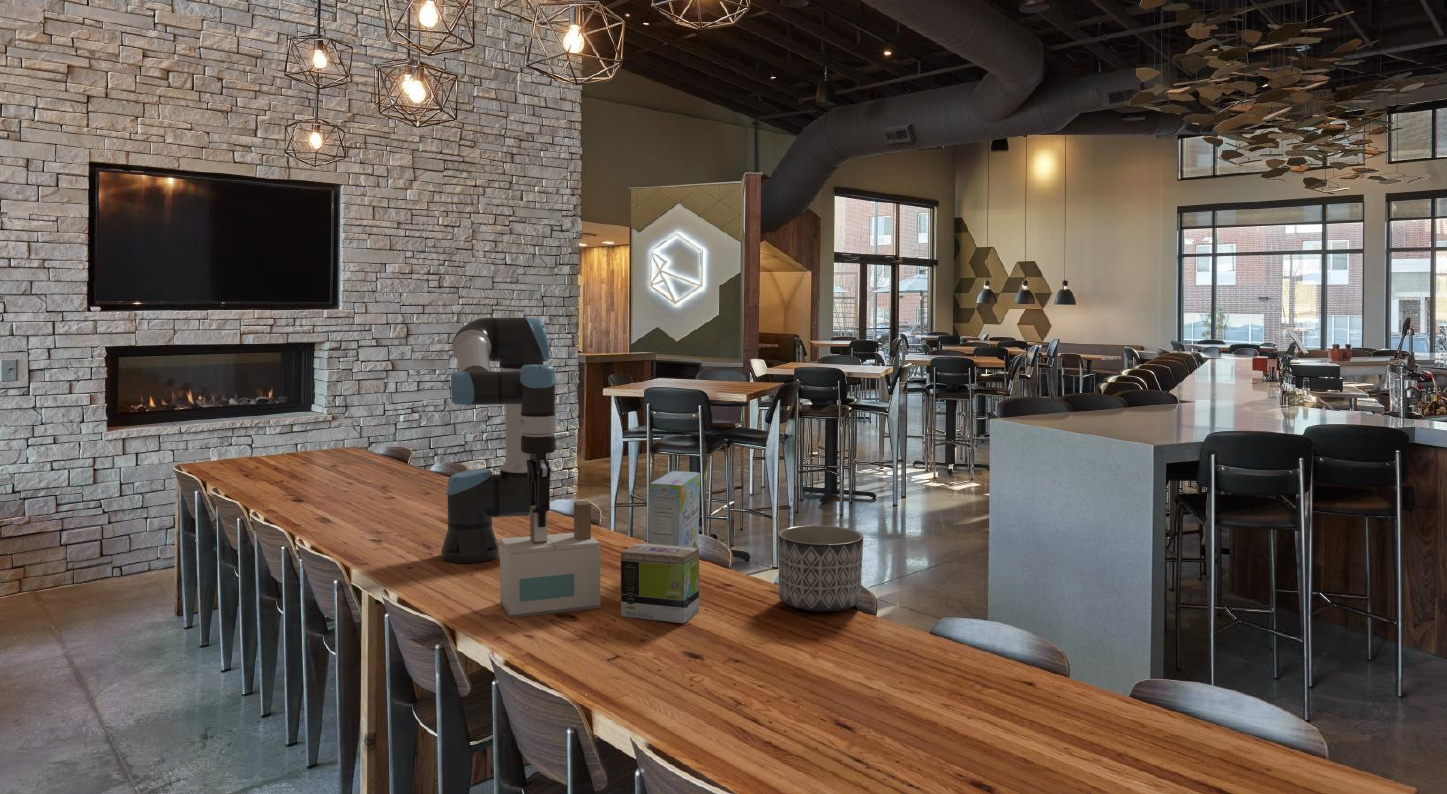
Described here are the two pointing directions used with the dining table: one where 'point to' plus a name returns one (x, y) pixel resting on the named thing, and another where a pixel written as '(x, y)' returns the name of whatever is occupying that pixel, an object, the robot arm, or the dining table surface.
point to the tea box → (660, 582)
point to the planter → (820, 567)
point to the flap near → (527, 541)
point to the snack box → (674, 509)
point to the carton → (554, 573)
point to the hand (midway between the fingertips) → (538, 538)
